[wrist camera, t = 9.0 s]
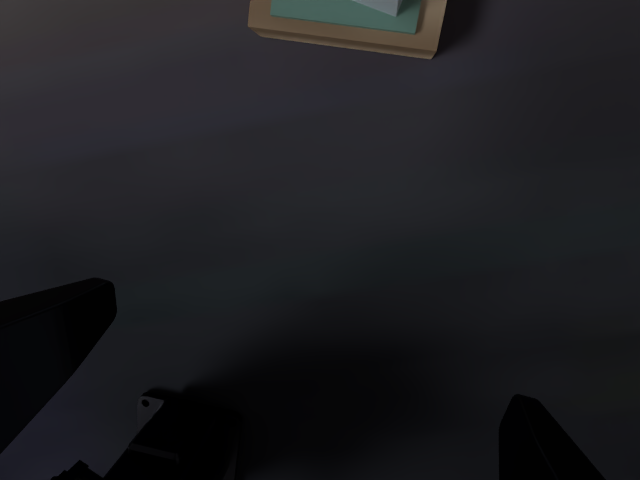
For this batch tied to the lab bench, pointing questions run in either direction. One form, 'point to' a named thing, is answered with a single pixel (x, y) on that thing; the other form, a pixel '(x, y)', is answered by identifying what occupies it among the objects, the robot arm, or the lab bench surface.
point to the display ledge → (352, 24)
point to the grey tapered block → (383, 5)
